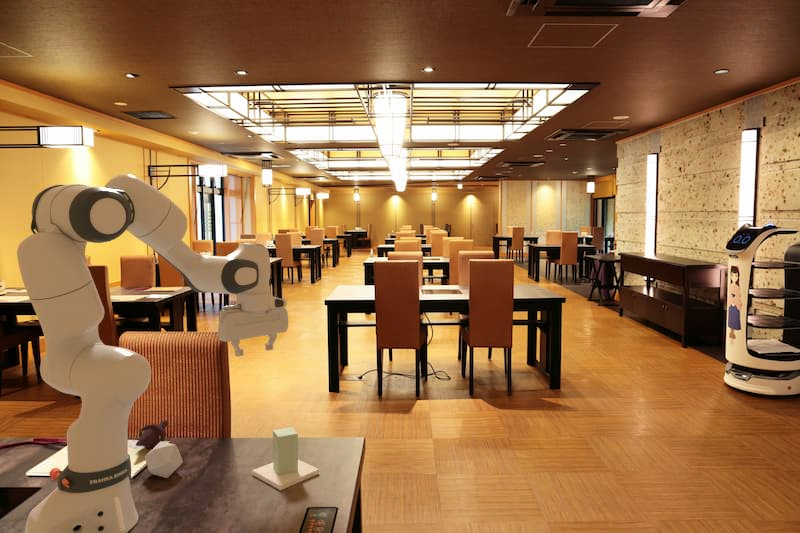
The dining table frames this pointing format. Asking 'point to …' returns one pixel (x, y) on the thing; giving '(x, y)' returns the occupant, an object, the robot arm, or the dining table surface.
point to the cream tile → (286, 480)
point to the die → (163, 459)
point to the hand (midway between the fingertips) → (254, 352)
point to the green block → (285, 451)
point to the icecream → (152, 434)
